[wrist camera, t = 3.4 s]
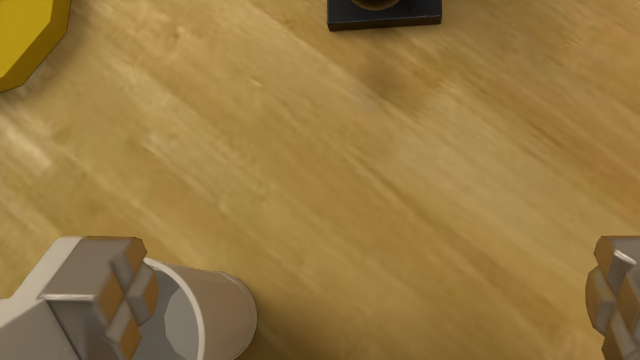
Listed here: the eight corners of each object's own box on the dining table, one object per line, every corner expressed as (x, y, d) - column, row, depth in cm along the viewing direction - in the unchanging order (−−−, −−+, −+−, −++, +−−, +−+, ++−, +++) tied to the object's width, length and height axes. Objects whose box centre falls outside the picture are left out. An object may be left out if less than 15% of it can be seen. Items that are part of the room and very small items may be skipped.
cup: (140, 294, 38) (22, 306, 26) (236, 238, 37) (160, 225, 26) (188, 399, 36) (85, 463, 24) (289, 342, 36) (234, 378, 24)
